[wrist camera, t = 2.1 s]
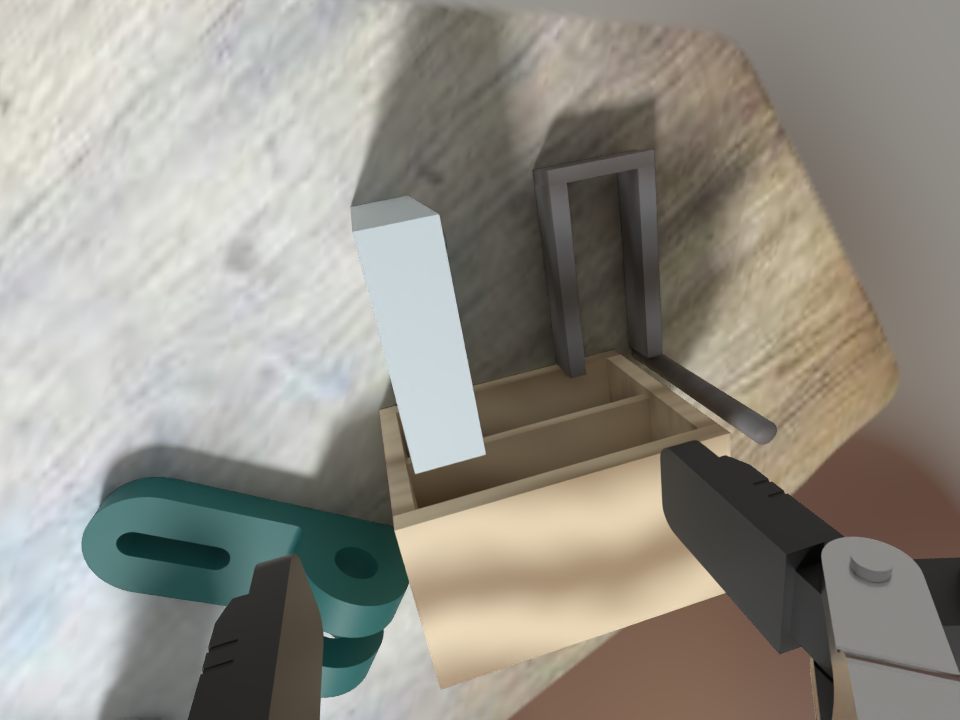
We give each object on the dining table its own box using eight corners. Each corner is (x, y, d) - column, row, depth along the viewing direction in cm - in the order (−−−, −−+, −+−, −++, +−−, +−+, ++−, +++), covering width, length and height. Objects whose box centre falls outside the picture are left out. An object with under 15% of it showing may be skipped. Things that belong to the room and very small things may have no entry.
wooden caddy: (324, 211, 29) (310, 243, 18) (638, 148, 32) (791, 144, 21) (413, 534, 38) (440, 689, 27) (654, 463, 40) (769, 577, 29)
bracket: (402, 526, 37) (415, 614, 30) (368, 602, 39) (373, 702, 32) (113, 463, 31) (43, 554, 24) (87, 556, 33) (14, 667, 26)
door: (350, 206, 29) (352, 231, 19) (420, 192, 30) (457, 210, 20) (394, 379, 33) (415, 474, 23) (455, 363, 34) (501, 450, 24)
